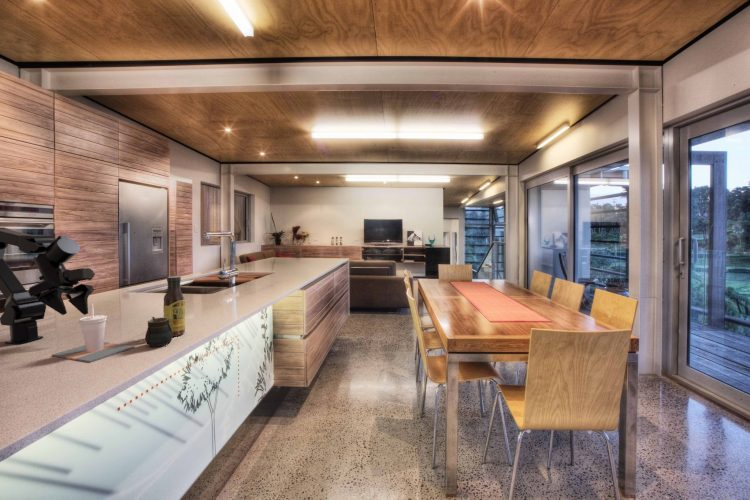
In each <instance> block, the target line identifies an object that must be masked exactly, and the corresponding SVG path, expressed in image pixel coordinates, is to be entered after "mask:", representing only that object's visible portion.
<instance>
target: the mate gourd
mask: <svg viewBox="0 0 750 500" xmlns="http://www.w3.org/2000/svg"><path fill="white" fill-rule="evenodd" d="M173 337H174V336H173V331H172V328H171V326H170V324H169V319H168V318H164V317H155V316H151V319H149V320H147V330H146V332H145V336H144V339H145V342H146V345H148V346H149V347H151V348H160V347H165V346H167V345H169V344H171V342H172V340H173Z"/></svg>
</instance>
